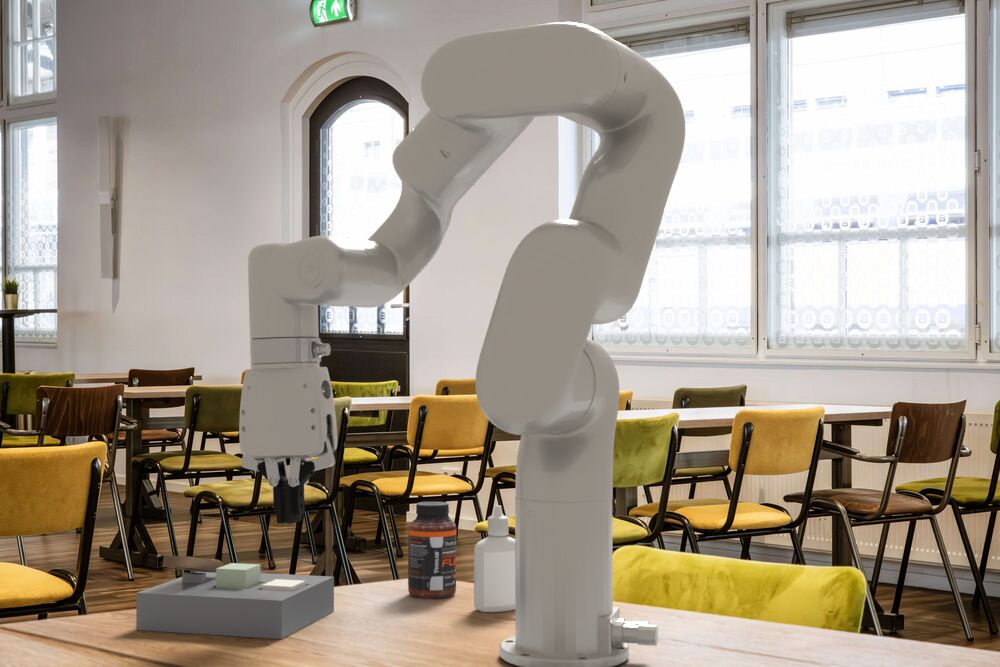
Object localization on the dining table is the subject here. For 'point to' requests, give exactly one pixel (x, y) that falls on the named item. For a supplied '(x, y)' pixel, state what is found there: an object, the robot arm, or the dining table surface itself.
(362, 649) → the dining table surface
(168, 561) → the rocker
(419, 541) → the supplement bottle
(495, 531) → the eye dropper bottle
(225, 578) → the sage button
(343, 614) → the dining table surface
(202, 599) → the console
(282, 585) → the white button
